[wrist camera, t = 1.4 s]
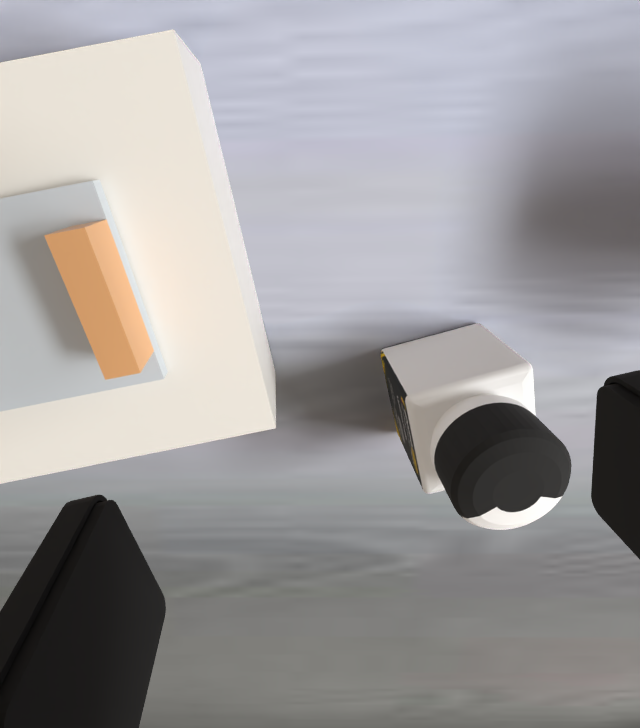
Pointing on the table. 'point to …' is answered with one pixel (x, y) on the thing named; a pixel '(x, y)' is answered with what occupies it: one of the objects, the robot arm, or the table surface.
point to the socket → (141, 248)
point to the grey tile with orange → (68, 300)
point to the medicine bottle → (475, 426)
